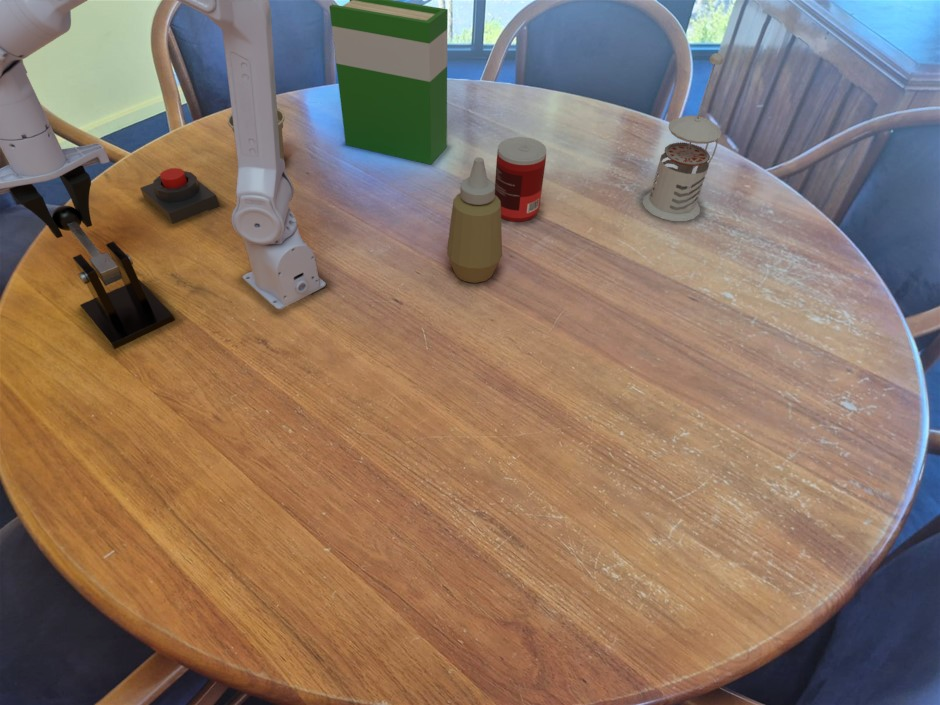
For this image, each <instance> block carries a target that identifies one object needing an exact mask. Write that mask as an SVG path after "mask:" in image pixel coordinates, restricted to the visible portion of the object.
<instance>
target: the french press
mask: <svg viewBox="0 0 940 705" xmlns="http://www.w3.org/2000/svg"><path fill="white" fill-rule="evenodd" d="M723 60H724V57H723V55H722V54H721V53H718V52H715V53H713V54H711V55H710V56H709V60H708V63H710V64H712V69H711V72H710V75H709V78H708V83H707V85H706V88H705V92H704V95H703V97H702V101H701V105H700V108H699V111H698V113H697V114H698V115H692V114H691V115H685V116H681V117H676V118H673V119H672V120H671V121H669V123H668V130H669V131H670V133H671V135H673V136H674V137H675V138H677V139H678V140H681V141H682V142H673V143H670V144H668V145H666V146H665V148H664V152H663V153H662V154H661V155H660V157H659V162H658V165H657V169H656V173H655V176H654V180H653V182H652V188H651V191H649V192H648V193H647V194H644V196H643V198H642V201H641V203H642V205H643V207H644V209H645V210H646V211H647V212H649V213H650V215H653V216H655V217H657V218H660V219H662V220H667V221H671V222H687V221H690V220H694V219H695V218H697V217H698V216H699V215H700V211H701V207H700V205H699V203H698V200H699V196H700V193H701V190H702V187H703V183H704V181H705V179H706V175H707V172H708V170H709V166H710V164H711V161H712V160H713V158H714V156H715V154H716V151H717V148H718V144H719V143H718V142H719V141H718V140H719V139H720V138H721V136H722V131H721V129H720V127H719V126H718V125H717V124H716V123H715V122H712V121H711V120H709V119H708V118H706V117H703V116H701V112H702V108H703V106H704V103H705V99H706V96H707V92H708V89H709V86H710V83H711V80H712V77H713V73H714V71H715V67H716V65H722V64H723ZM683 141H684V142H683ZM714 142H715V147H714V149H713V151H712V154H711V155H710V153H709V152H708V148H709V144H711V143H714ZM698 144H699V145H705V148H704V147H702V146H699V145H698ZM665 159H667V160H665ZM663 160H665V161H663ZM667 164H668V165H674V166H676V167H677V168H675V167H672V166H666V165H667ZM696 167H697V169H696V171H695V173H693V170H694V169H695V168H696ZM689 186H691V187H690V188H688V187H689Z"/></svg>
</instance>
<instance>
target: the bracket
mask: <svg viewBox="0 0 940 705" xmlns="http://www.w3.org/2000/svg"><path fill="white" fill-rule="evenodd" d="M105 246H106V249H107V250H108V251H107V252H108V254H109V255H110V256H111V258H112V259H113V260H114V261H115V263H116V264H117V265H118V267H119V270H120V272H121V275H122V277H123V278H122V279H121V280H122V283H123V285H122V286H120V287H118V288H115V289H113V290H110V291H109V292H108V291H106V289H105V287H104V284H103V282H102V281H101V279H100V278H99V277H98V275H97V273H96V271H95V270H94V269H93V267H92V265H91V263H89V262H88V261H87V259H86V258H85V257H84V256H83V255H82V254H80V253H79V254H77V255H74V256H73V257H72V260H73V262H74V263H75V265H76V267H77V269H78V271H79V273H78V277H79V279H80V280H81V282H82V284H84V285H86V286H87V288H88V290H89V292H90V294H91V296H92V299H89V300H88V301H86V302H83V303H81V304H79V305H80V308H81V310H82V312H84V314H85V315H86V317H87V318H88V319H89V320H90V321H91V322H92V324H94V326H95V327H96V328H97V330H98V331H99V332H100V334H101V335H102V336H103V338H105V339H106V341H107V342H108V343H109V345H110V346H111V347H112V348H113V349H114V350H116V349H118V348H120V347H122V346H125V345H127V344H129V343H131V342H133V341H135V340H137V339H139V338H141V337H143V336H146V335H147V334H150V333H152V332H154V331H156V330H158V329H160V328H163V327H164V326H166V325H168V324H170V323H173V322H175V321H176V319H175V316H174V315H173V313H171V311H170V310H169V309H168V308H167V307H166V306H165V305H164V304H163V303H162V302H161V301H160V300H159V299H158V297H156V295H155V294H154V293H153V292H152V291H151V289H149V288H148V287H147V286H146V285H145V283H143V282H142V280H140V279H139V278H138V275H137V273H136V271H135V269H134V262H133V260H132V258H131V256H130V255H129V254H128V253H125V252H124V251H123V250H122V248H120V246H118V245H117V243H115V241H111V242H108V243H106V244H105Z"/></svg>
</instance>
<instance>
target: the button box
mask: <svg viewBox="0 0 940 705" xmlns="http://www.w3.org/2000/svg"><path fill="white" fill-rule="evenodd" d="M183 171H184V173H185V176H186V179H187V183H186V184H185V185H184V186H181V187H178V188H165V187H164V186H163V183H162V180H161V178H160V175H159V176H157V177H156V178H155V179H154V180H153V182H152V183H149V184H146V185H143V186H141V187H140V191H141V194H142V196H143V198H144V200H145V201H147V203H149V204H150V205H151V206H152V207H153V208H154V209H155V210H156V211H157V212H159V213H160V214H161V215H162V216H163V217H164V218H165V219H166V220H168V222H170V223H171V224H172V225H174V224H176V223H177V224H178V223H179V222H181V221H184V220H187V219H189V218H192V217H194V216H197V215H200V214H201V213H205V212H207V211H212V210H215V209H217V208H220V203H219V200H218V197H217V194H215V193H214V192H213V191H212V190H211V189H210V188H208V187H207V186H206V185H205V184H203V183H202V182H201V181H199V180H198V177H197V176H196V175H195V174H194V173H193V172H191V171H185V170H183Z"/></svg>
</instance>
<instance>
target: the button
mask: <svg viewBox="0 0 940 705" xmlns="http://www.w3.org/2000/svg"><path fill="white" fill-rule="evenodd" d="M184 171H185V170H183V169H182V168H180V167H179V168H178V167H172V168H167V169H165V170H163V171H161V172H160V173H159V176H160V178H161V180H162V183H163V186H164V187H165V188H178V187H181V186H184V185H185V184H186V183H187V179H186V176H185V173H184Z"/></svg>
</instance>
